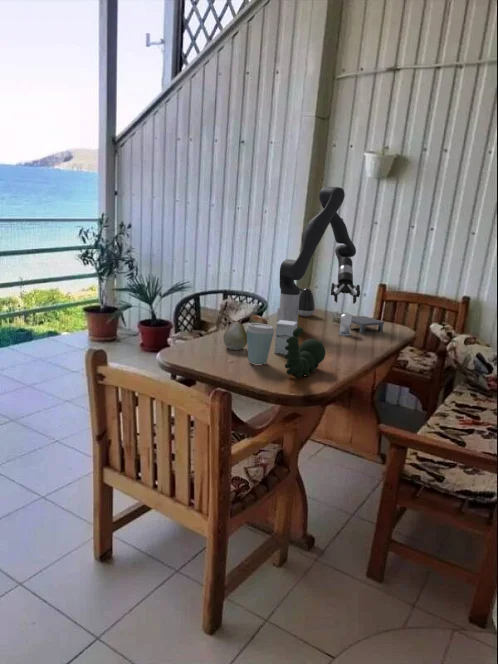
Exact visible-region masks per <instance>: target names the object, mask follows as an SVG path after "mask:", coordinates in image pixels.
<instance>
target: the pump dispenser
mask: <svg viewBox="0 0 498 664" xmlns="http://www.w3.org/2000/svg"><path fill="white" fill-rule="evenodd" d="M299 288H300V287H299ZM315 310H316V306H315V297H314V293H313V292H312V290H311V289H310V288H308V287H305V288H300V296H299V309H298V316H301V317H309V316H312V315H313V314H314V312H315Z"/></svg>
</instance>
